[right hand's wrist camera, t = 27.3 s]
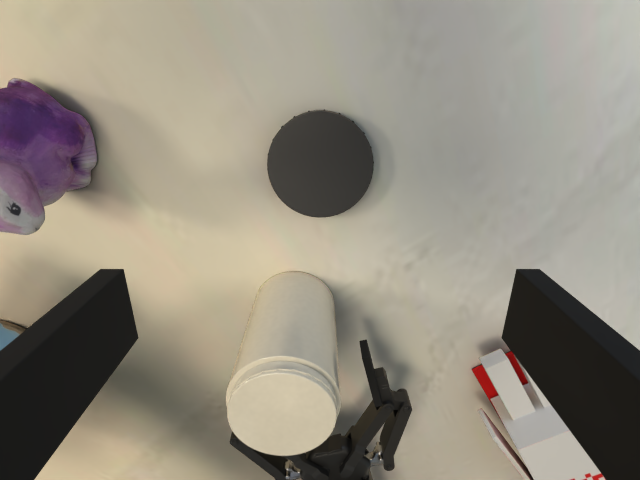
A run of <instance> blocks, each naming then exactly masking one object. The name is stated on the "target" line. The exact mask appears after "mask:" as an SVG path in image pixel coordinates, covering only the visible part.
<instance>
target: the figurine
mask: <svg viewBox="0 0 640 480" xmlns="http://www.w3.org/2000/svg"><path fill="white" fill-rule="evenodd" d="M96 162H97V152H96V147H95V141H94V137H93V133H92V131H91V127H90V124H89V123H88V122H87V121H86V119H85V118H84V117H83V116H81V115H80V114H78V113H76V112H73V111H70V110H68V109H66V108H64V107H63V106H62V105H61V104H60V103H58V102H57V101H56V100H55V99H54V98H53V97H52V96H50V95H49V94H47V93H46V92H44V91H43V90H41V89H40V88H38V87H37V86H35V85H33V84H32V83H29V82H27V81H25V80H22V79H17V78H13V79H11V80H10V81H9V82H8V86H7V88H2V89H0V232H8V233H15V234H20V235H28V234H31V233H34V232H36V231H37V230H38V229H39V228H40V227H41V225H42V224H43V223H44V220H45V211H44V206H47V205H49V204H52V203H54V202H56V201H57V200H58V199H60V198H61V197H62V196H63V194H64V193H65V192H66V191H67V192H68V191H71V190H74V189H79V188H84V187H86V186H87V185H89V184H90V181H91V170H92V169H93V168H94V167H95V165H96Z"/></svg>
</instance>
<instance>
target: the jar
mask: <svg viewBox="0 0 640 480" xmlns="http://www.w3.org/2000/svg"><path fill="white" fill-rule="evenodd" d="M226 405H227V419H228V422H229V425H230V427H231V429H232V431H233V432H234V434H235V435H236V436H237V437H238V439H239V440H241V441H242V442H243V443H244V444H246V445H247V446H249V447H251V448H252V449H254V450H257V451H259V452H262V453H266V454H270V455H277V456H290V455H297V454H302V453H305V452H308V451H310V450H313V449H314V448H316V447H318V446H319V445H321V444H322V443H323V442H324V441H325V440H326V439H327V438H328V437H329V436H330V435H331V433H332V431H333V429H334V427H335V424H336V420H337V417H338V414H339V412H340V407H341V393H340V378H339V363H338V349H337V334H336V319H335V305H334V299H333V296H332V294H331V292H330V290H329V288H328V287H327V286H326V285H325V284H324V283H323V282H322V281H321V280H320V279H318V278H317V277H315V276H313V275H310V274H308V273H304V272H297V271H290V272H284V273H280V274H277V275H275V276H273V277H271V278H270V279H268V280H267V281H266V282H265V283H264V284H263V285H262V286H261V287H260V289H259V290H258V292H257V295H256V298H255V301H254V304H253V307H252V311H251V314H250V317H249V320H248V323H247V327H246V330H245V333H244V336H243V339H242V343H241V346H240V349H239V352H238V355H237V359H236V362H235V365H234V368H233V372H232V375H231V378H230V381H229V384H228V388H227V392H226Z"/></svg>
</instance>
